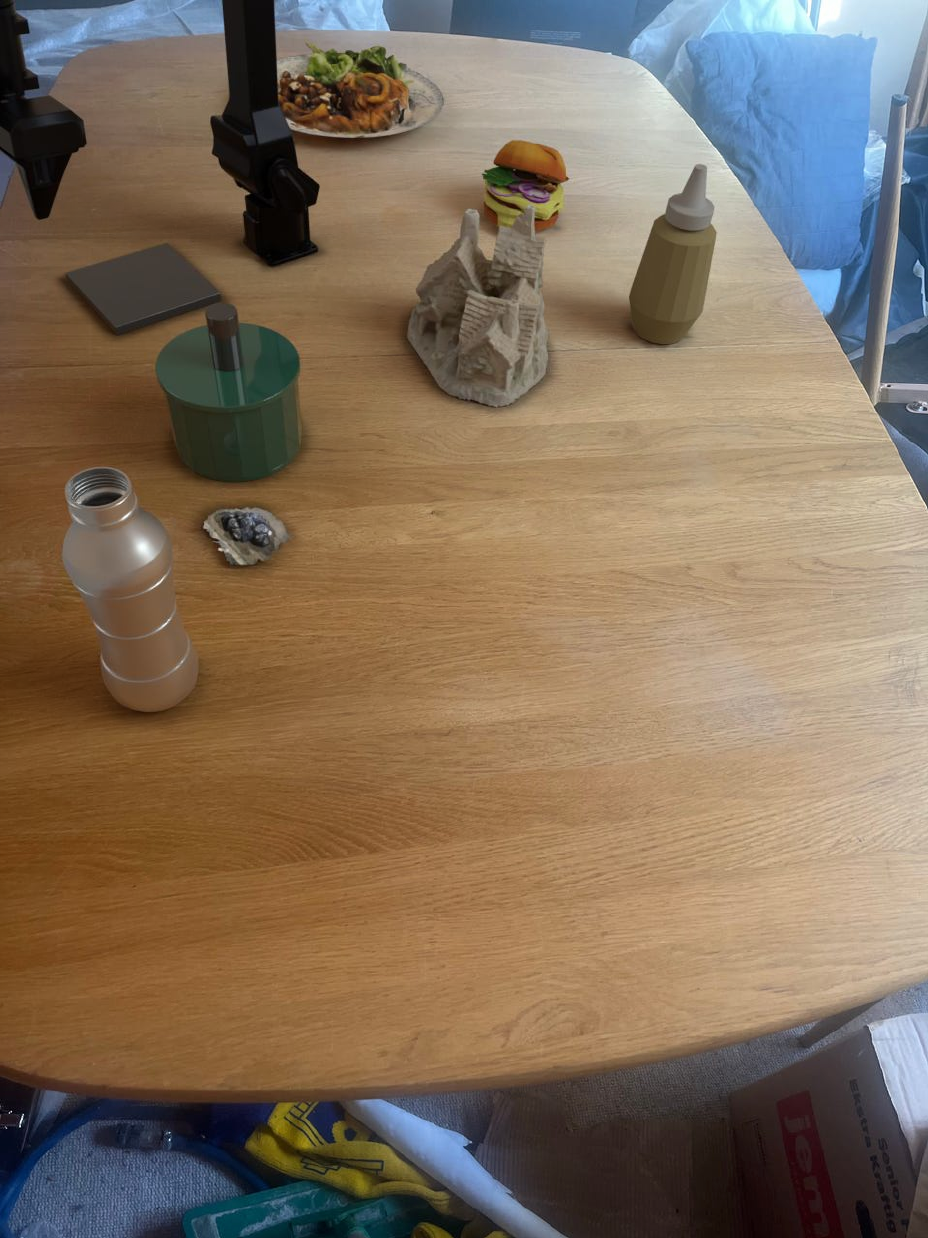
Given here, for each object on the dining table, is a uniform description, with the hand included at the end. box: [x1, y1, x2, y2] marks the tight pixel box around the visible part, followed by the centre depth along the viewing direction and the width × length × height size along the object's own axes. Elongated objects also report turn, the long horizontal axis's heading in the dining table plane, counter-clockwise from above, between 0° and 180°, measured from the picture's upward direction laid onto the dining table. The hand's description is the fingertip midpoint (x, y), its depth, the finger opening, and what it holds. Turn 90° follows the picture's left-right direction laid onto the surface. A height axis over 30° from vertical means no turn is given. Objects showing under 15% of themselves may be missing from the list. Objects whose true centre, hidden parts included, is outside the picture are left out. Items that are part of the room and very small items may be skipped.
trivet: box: [64, 242, 222, 336], centre depth 103 cm, size 12×12×1 cm
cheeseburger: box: [481, 139, 570, 232], centre depth 117 cm, size 10×11×10 cm
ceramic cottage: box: [406, 204, 549, 408], centre depth 95 cm, size 16×16×15 cm
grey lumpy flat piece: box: [202, 506, 292, 567], centre depth 81 cm, size 7×8×2 cm
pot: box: [163, 378, 303, 483], centre depth 86 cm, size 11×11×8 cm
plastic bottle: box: [61, 466, 199, 713], centre depth 63 cm, size 6×7×20 cm
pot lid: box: [154, 302, 301, 413], centre depth 81 cm, size 12×12×6 cm
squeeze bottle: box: [628, 163, 718, 345], centre depth 99 cm, size 8×8×18 cm
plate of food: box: [277, 41, 445, 139], centre depth 133 cm, size 28×28×6 cm
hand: (16, 197), depth 86 cm, fingers open, 9 cm apart
